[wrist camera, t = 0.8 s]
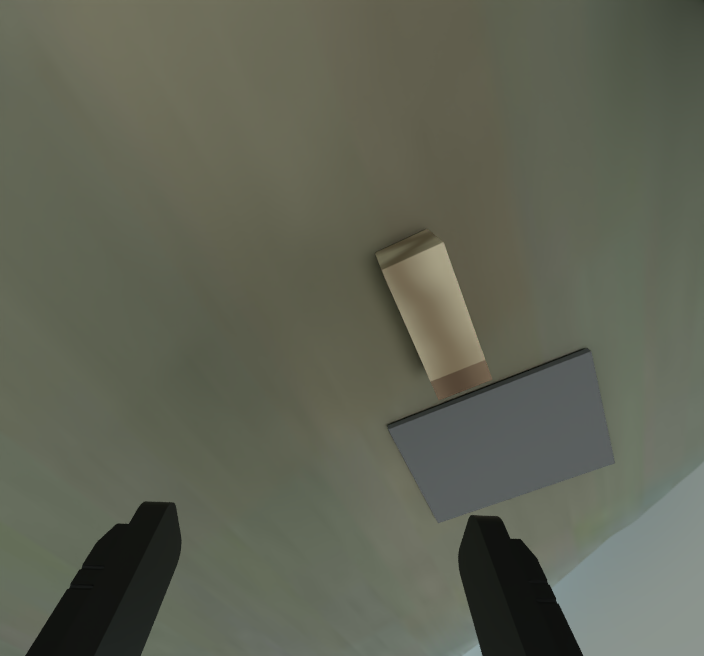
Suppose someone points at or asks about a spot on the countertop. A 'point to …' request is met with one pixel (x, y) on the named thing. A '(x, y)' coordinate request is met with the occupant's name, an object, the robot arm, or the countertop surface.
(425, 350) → the maple bar
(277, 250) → the countertop surface
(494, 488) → the mat
